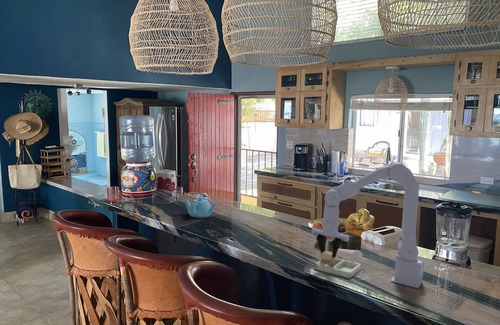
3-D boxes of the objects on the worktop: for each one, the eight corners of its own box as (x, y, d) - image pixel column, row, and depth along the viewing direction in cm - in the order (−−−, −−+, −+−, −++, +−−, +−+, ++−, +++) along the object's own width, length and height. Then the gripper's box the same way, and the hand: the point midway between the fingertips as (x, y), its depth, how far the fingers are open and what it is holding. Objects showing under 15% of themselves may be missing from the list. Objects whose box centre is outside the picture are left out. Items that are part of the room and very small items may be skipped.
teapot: (183, 213, 232) (183, 195, 231) (207, 211, 239) (207, 194, 238) (191, 219, 219) (192, 200, 218) (216, 217, 226) (217, 199, 225)
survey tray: (360, 271, 152) (361, 264, 152) (349, 280, 142) (350, 273, 142) (327, 262, 160) (327, 255, 159) (314, 270, 150) (315, 263, 150)
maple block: (330, 265, 147) (331, 254, 147) (320, 262, 149) (321, 252, 149) (334, 263, 150) (335, 253, 150) (324, 260, 153) (325, 250, 152)
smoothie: (342, 242, 165) (370, 250, 154) (344, 256, 167) (373, 264, 156) (332, 249, 162) (360, 257, 151) (335, 263, 163) (363, 272, 152)
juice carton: (325, 253, 171) (326, 240, 170) (313, 247, 180) (313, 234, 179) (361, 250, 180) (362, 237, 179) (347, 243, 188) (348, 231, 188)
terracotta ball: (338, 264, 155) (339, 256, 155) (335, 267, 152) (335, 258, 152) (330, 262, 157) (330, 254, 157) (326, 265, 154) (327, 256, 154)
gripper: (353, 222, 148) (350, 257, 149) (317, 216, 156) (315, 249, 157) (346, 226, 142) (343, 262, 143) (310, 219, 150) (307, 253, 152)
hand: (328, 255), depth 150 cm, fingers closed on maple block, 4 cm apart
